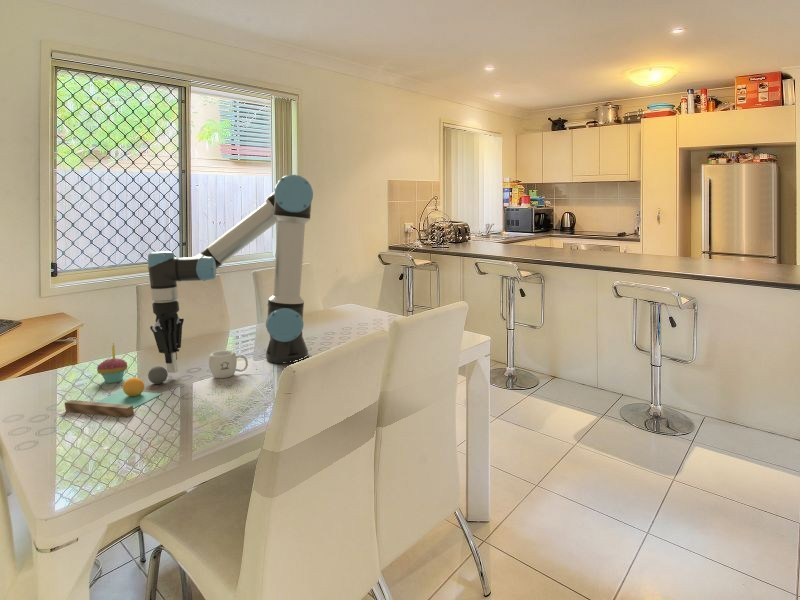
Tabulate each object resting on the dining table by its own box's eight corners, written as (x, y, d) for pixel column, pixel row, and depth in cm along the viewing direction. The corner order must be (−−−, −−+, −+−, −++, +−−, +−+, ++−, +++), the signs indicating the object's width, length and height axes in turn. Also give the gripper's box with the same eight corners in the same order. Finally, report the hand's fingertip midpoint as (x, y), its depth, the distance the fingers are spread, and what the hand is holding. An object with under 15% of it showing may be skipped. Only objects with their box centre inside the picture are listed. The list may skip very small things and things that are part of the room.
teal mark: (162, 394, 143) (162, 393, 143) (125, 412, 129) (125, 412, 129) (122, 390, 146) (122, 390, 146) (82, 408, 132) (82, 408, 132)
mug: (210, 381, 153) (208, 358, 152) (210, 373, 161) (208, 351, 159) (249, 376, 157) (248, 353, 156) (247, 369, 165) (246, 347, 164)
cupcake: (107, 376, 159) (103, 341, 157) (134, 375, 160) (130, 340, 158) (93, 385, 151) (88, 348, 149) (121, 384, 151) (117, 347, 149)
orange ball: (144, 374, 141) (132, 387, 137) (151, 388, 144) (139, 401, 139) (128, 373, 142) (115, 385, 138) (135, 387, 145) (123, 399, 141)
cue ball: (157, 366, 148) (157, 384, 148) (171, 365, 153) (171, 383, 153) (144, 366, 150) (143, 384, 150) (158, 365, 155) (157, 382, 155)
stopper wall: (133, 414, 128) (132, 405, 128) (128, 417, 126) (127, 408, 126) (72, 408, 132) (71, 399, 132) (65, 411, 131) (64, 402, 130)
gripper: (169, 296, 160) (176, 365, 164) (139, 303, 147) (148, 377, 151) (188, 297, 158) (195, 366, 162) (161, 304, 146) (168, 379, 150)
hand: (172, 371), depth 157 cm, fingers closed
